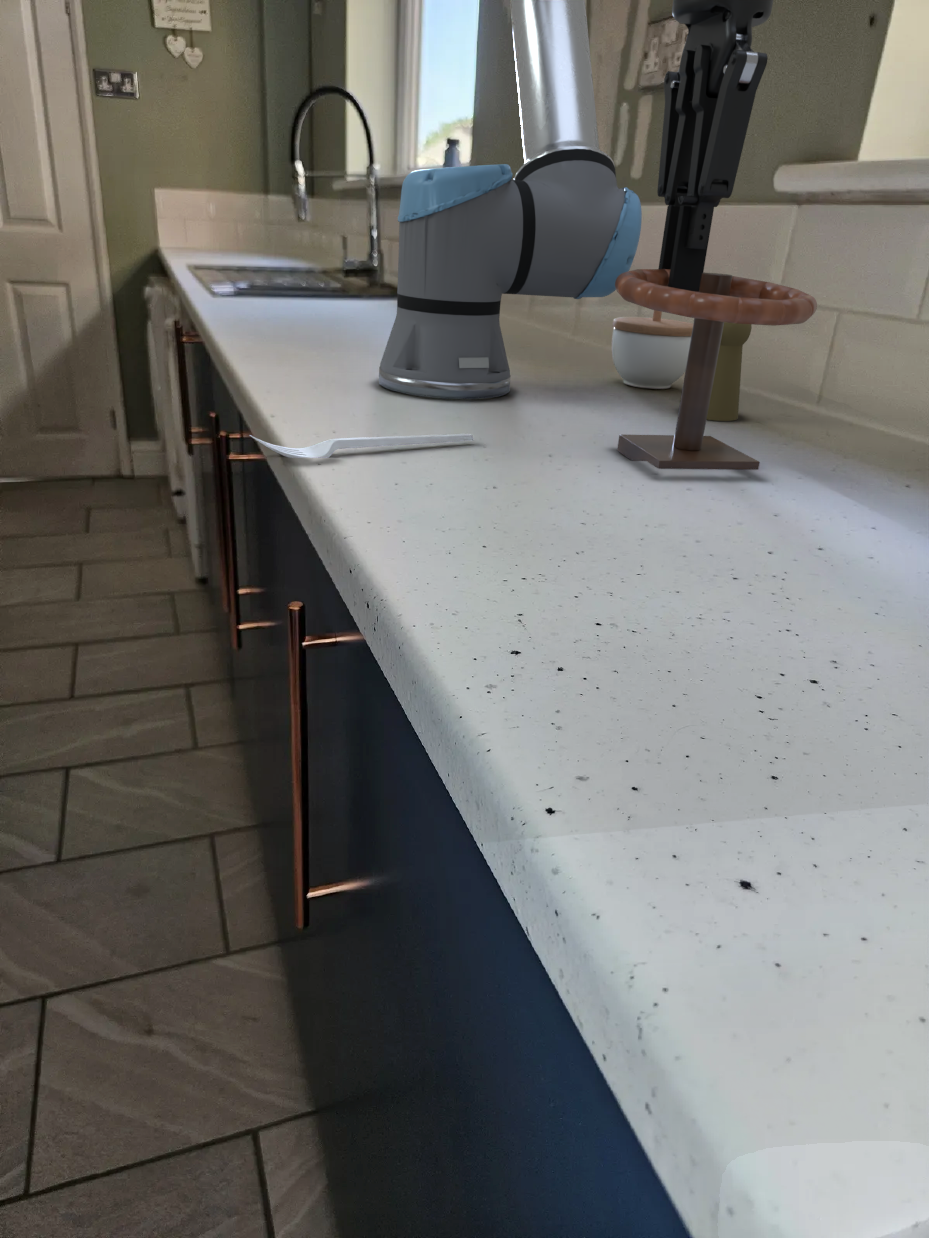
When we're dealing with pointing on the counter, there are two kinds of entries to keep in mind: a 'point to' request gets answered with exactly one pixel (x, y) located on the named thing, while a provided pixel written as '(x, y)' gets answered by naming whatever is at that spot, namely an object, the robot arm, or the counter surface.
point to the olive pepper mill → (728, 373)
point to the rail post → (693, 405)
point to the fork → (361, 444)
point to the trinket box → (650, 350)
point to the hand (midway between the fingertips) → (677, 288)
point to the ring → (718, 299)
